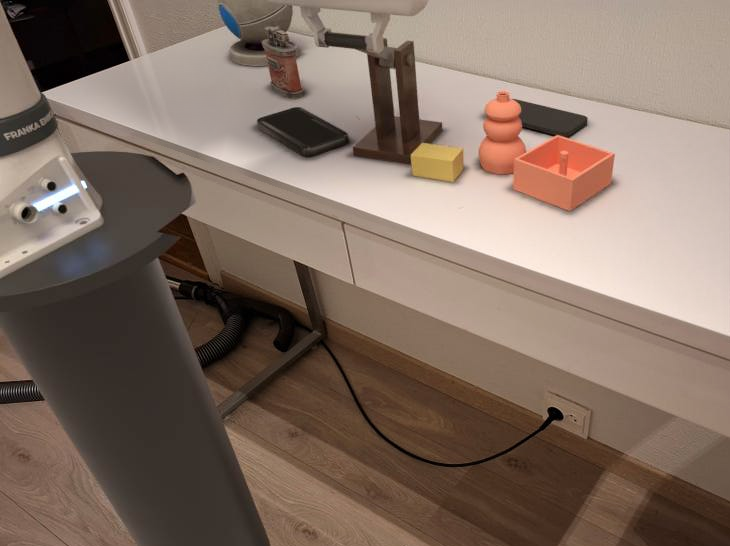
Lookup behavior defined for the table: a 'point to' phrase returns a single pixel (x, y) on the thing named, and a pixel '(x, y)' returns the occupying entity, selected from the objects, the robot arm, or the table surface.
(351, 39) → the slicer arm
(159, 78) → the table surface
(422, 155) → the butter block
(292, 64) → the lighter
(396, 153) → the brown wooden frame
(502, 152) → the pottery
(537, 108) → the phone
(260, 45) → the webcam
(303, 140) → the phone
